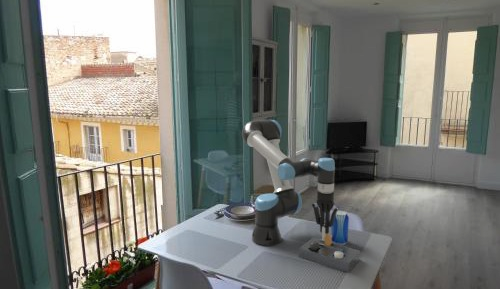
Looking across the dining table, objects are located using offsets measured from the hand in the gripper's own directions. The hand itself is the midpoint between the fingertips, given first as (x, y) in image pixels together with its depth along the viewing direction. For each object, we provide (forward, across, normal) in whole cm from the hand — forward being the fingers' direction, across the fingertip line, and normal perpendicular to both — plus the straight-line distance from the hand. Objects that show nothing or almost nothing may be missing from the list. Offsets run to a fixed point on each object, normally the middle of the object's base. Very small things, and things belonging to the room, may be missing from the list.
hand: (324, 239), depth 168 cm
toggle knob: (+3, +2, 0) cm, 3 cm away
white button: (+5, +10, -7) cm, 13 cm away
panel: (+7, +4, -3) cm, 9 cm away
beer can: (+7, +1, +16) cm, 17 cm away
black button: (+3, -2, -7) cm, 8 cm away
